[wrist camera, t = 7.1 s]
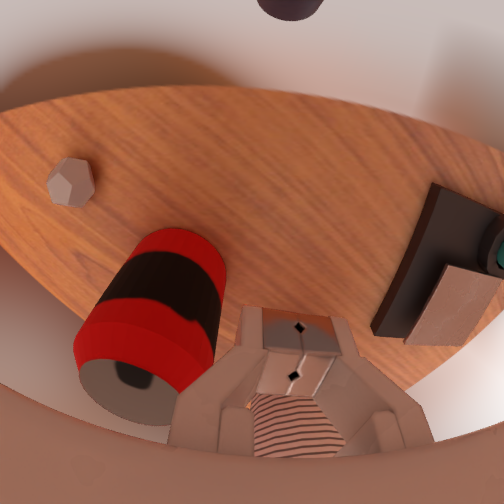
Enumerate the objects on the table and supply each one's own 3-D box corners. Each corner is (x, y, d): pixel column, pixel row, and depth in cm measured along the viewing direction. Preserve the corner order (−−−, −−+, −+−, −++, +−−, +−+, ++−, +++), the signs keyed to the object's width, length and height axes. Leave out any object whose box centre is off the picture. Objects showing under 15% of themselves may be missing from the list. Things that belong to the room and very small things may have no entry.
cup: (336, 299, 24) (389, 476, 10) (334, 364, 28) (363, 506, 14) (235, 312, 25) (221, 496, 11) (251, 375, 29) (248, 520, 15)
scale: (433, 176, 19) (455, 188, 16) (516, 216, 20) (535, 229, 17) (369, 326, 26) (379, 348, 23) (457, 333, 27) (469, 350, 24)
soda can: (239, 244, 22) (225, 378, 11) (212, 319, 25) (190, 445, 15) (142, 213, 21) (54, 318, 10) (129, 292, 24) (71, 404, 13)
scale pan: (446, 262, 19) (448, 265, 19) (500, 276, 20) (502, 279, 19) (402, 341, 23) (404, 344, 22) (460, 343, 23) (461, 346, 23)
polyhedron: (58, 189, 20) (35, 203, 17) (69, 145, 18) (44, 154, 15) (96, 208, 21) (75, 225, 18) (109, 164, 19) (88, 175, 16)
